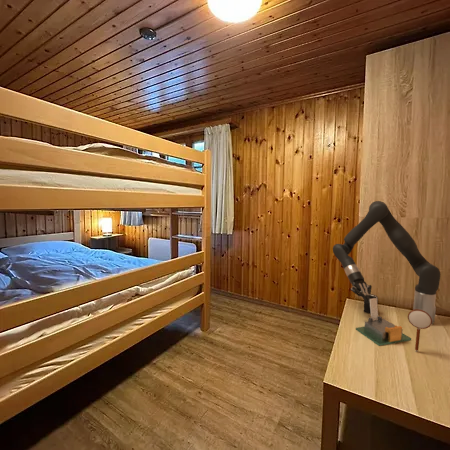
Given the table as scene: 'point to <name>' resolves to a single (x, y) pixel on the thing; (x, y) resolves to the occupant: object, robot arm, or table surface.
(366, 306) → the battery
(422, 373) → the table surface
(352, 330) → the table surface
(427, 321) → the magnifying glass
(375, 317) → the light grey flat bar
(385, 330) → the circuit board
